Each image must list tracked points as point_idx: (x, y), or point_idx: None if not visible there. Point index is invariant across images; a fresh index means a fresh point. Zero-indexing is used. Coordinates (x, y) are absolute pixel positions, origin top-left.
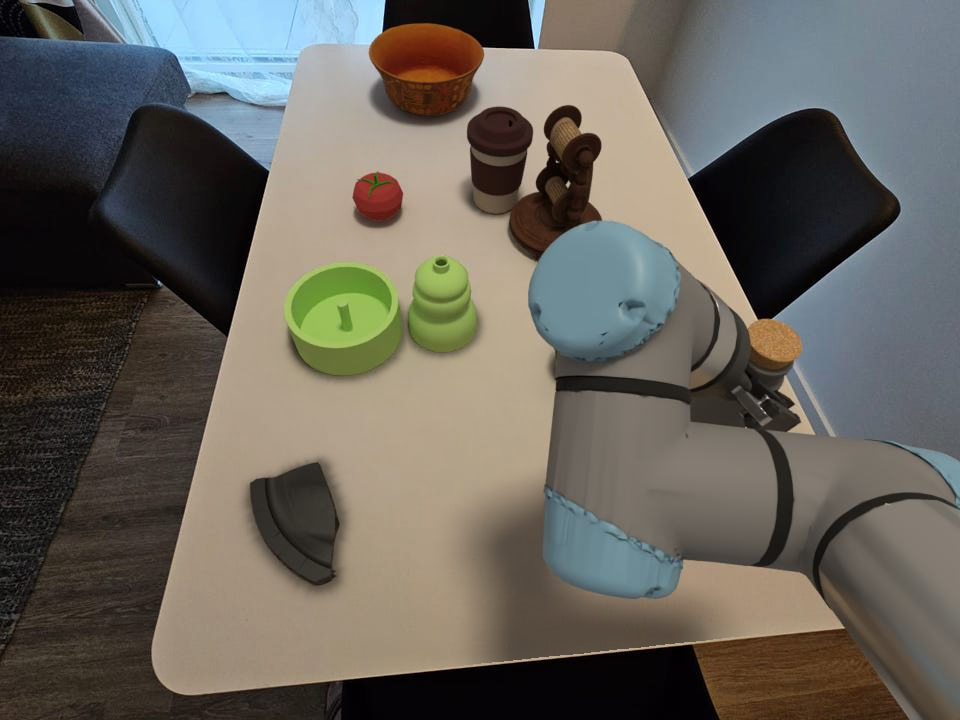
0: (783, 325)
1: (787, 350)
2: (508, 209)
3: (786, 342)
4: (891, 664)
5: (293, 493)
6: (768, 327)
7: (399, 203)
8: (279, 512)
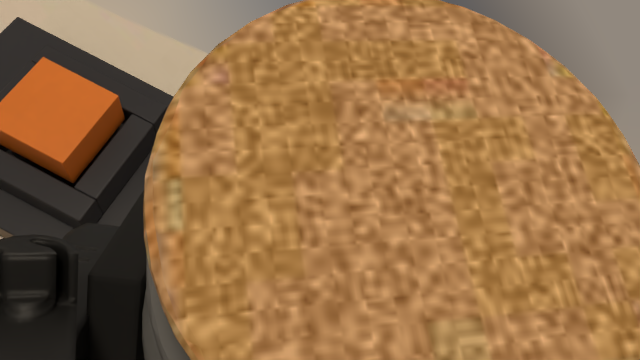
0: (332, 18)
1: (567, 196)
2: None
3: (490, 135)
4: None
5: None
6: (281, 135)
7: None
8: None
